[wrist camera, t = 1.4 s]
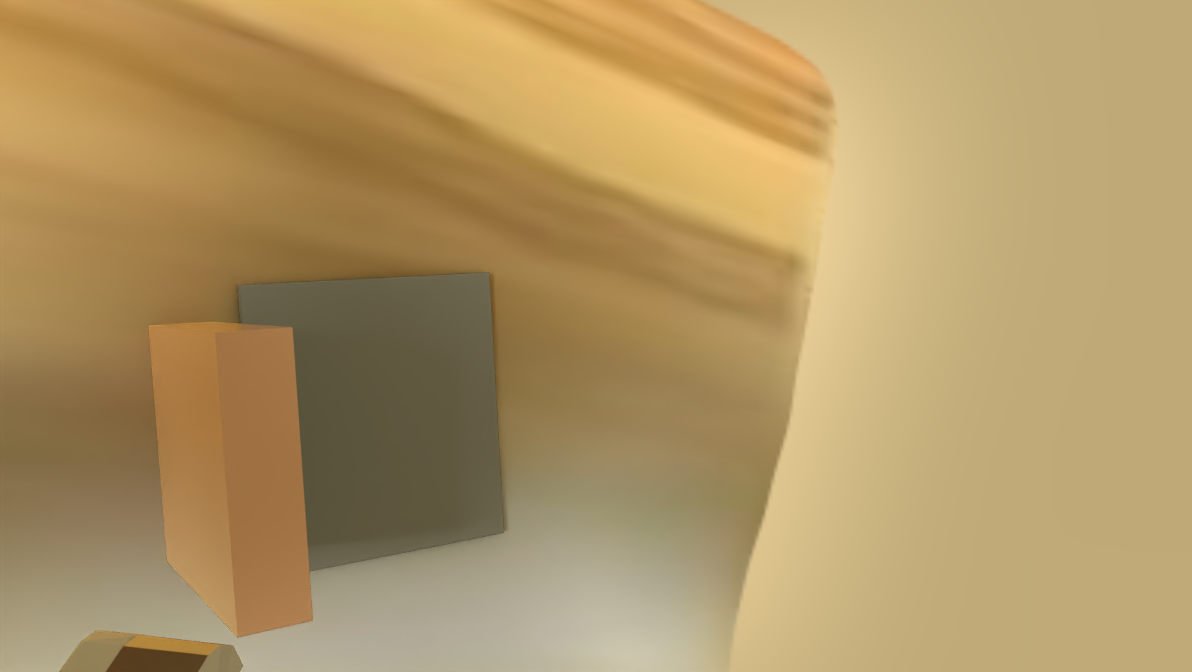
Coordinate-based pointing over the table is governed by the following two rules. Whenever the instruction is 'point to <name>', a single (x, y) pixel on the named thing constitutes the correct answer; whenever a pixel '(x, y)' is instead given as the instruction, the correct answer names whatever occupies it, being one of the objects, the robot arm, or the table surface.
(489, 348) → the mat
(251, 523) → the tile
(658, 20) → the table surface
